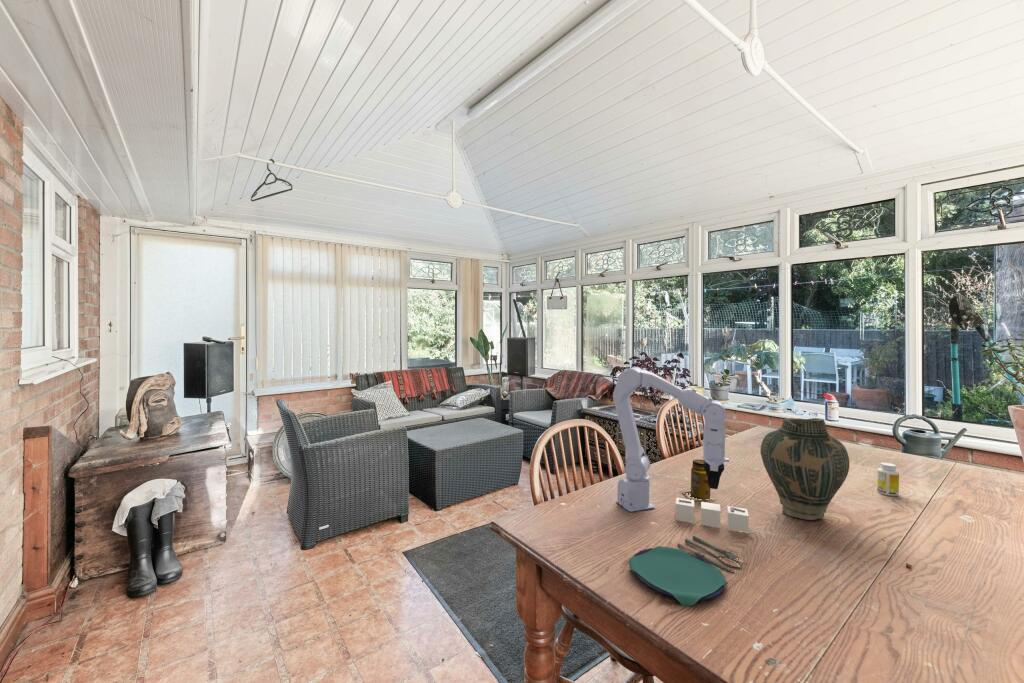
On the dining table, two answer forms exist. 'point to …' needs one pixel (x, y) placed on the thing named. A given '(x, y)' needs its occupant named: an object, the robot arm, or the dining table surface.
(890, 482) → the supplement bottle
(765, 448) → the vase
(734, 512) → the digit seven block
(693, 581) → the cutlery set
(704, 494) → the condiment
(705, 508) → the plain block
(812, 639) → the dining table surface
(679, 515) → the digit one block
